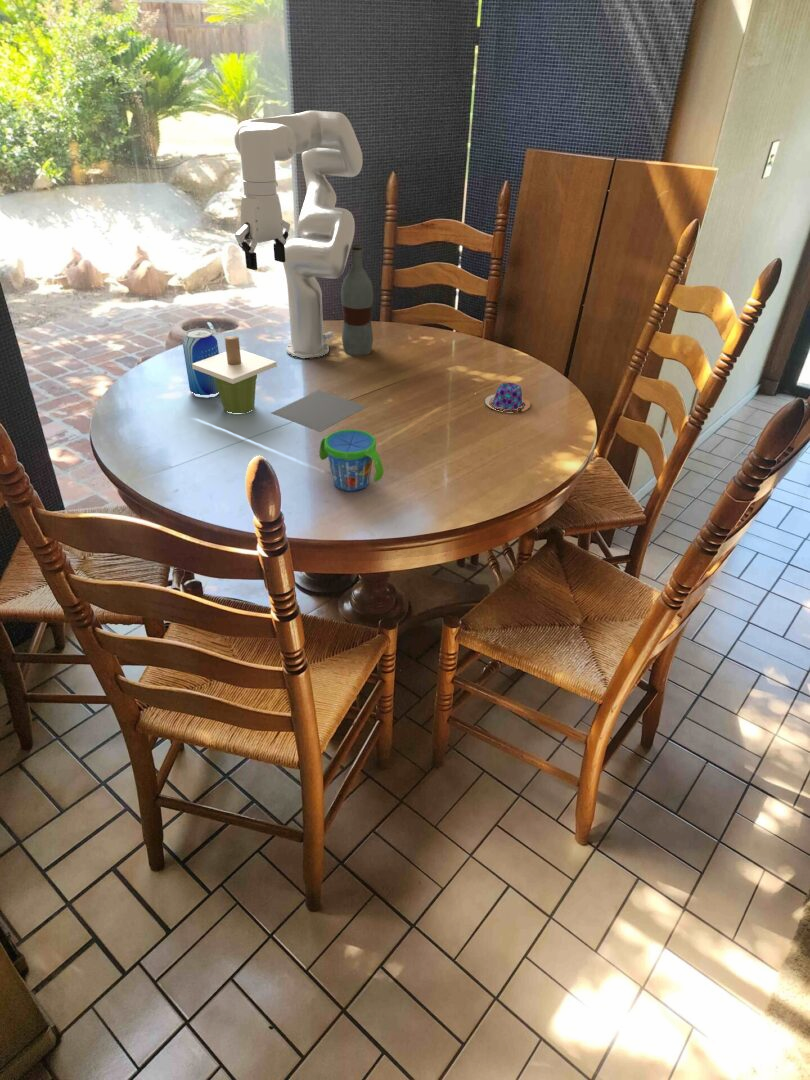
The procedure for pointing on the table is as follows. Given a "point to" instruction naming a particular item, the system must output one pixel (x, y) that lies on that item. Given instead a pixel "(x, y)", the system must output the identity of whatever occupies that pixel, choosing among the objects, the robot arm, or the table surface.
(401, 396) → the table surface
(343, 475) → the snack cup
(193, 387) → the beer can
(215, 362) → the lid
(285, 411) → the mat
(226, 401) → the plant pot
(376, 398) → the table surface
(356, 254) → the bottle
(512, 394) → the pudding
